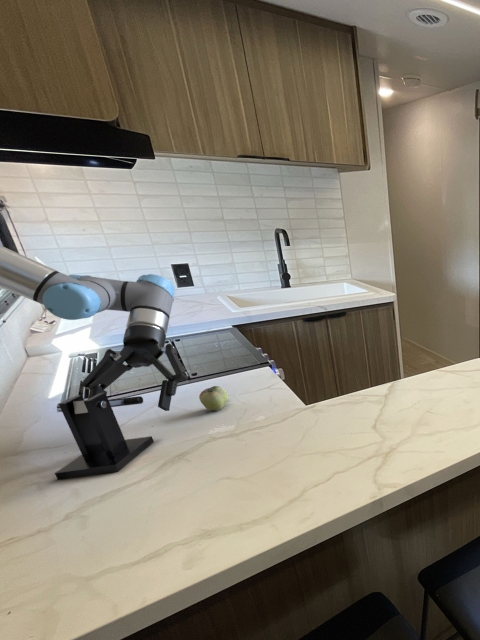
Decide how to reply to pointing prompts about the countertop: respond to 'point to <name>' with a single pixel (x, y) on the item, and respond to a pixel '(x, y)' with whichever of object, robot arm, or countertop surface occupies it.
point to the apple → (214, 398)
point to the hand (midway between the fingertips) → (129, 412)
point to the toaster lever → (81, 408)
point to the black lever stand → (98, 439)
